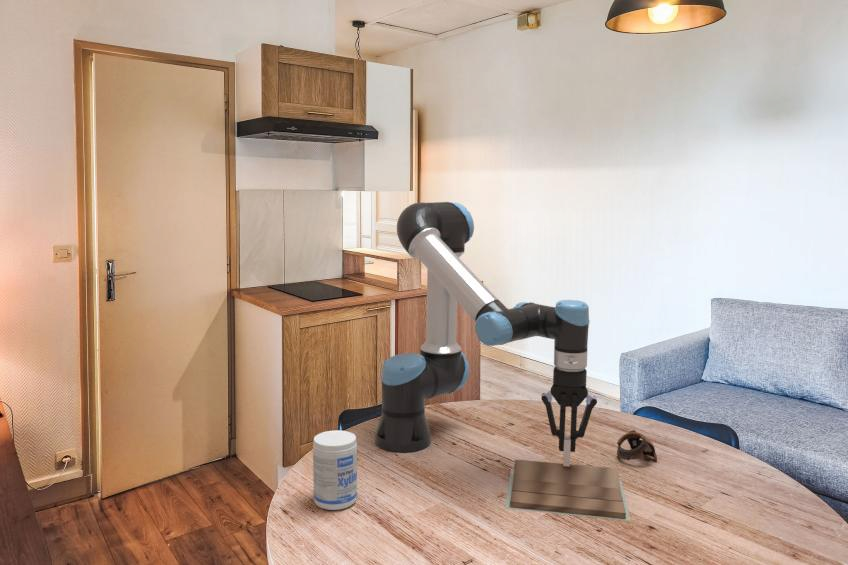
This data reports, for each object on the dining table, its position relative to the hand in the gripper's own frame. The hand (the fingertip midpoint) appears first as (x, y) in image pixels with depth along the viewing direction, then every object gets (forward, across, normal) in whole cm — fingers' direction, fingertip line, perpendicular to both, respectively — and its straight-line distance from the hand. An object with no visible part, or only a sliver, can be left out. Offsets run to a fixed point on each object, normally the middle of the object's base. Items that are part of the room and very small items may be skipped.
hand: (566, 463), depth 152 cm
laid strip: (+4, 0, -14) cm, 15 cm away
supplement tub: (+4, -50, -21) cm, 55 cm away
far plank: (+2, 0, -2) cm, 3 cm away
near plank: (+4, 0, -8) cm, 9 cm away
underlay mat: (+4, 0, -7) cm, 8 cm away
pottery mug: (+5, +18, +16) cm, 25 cm away
